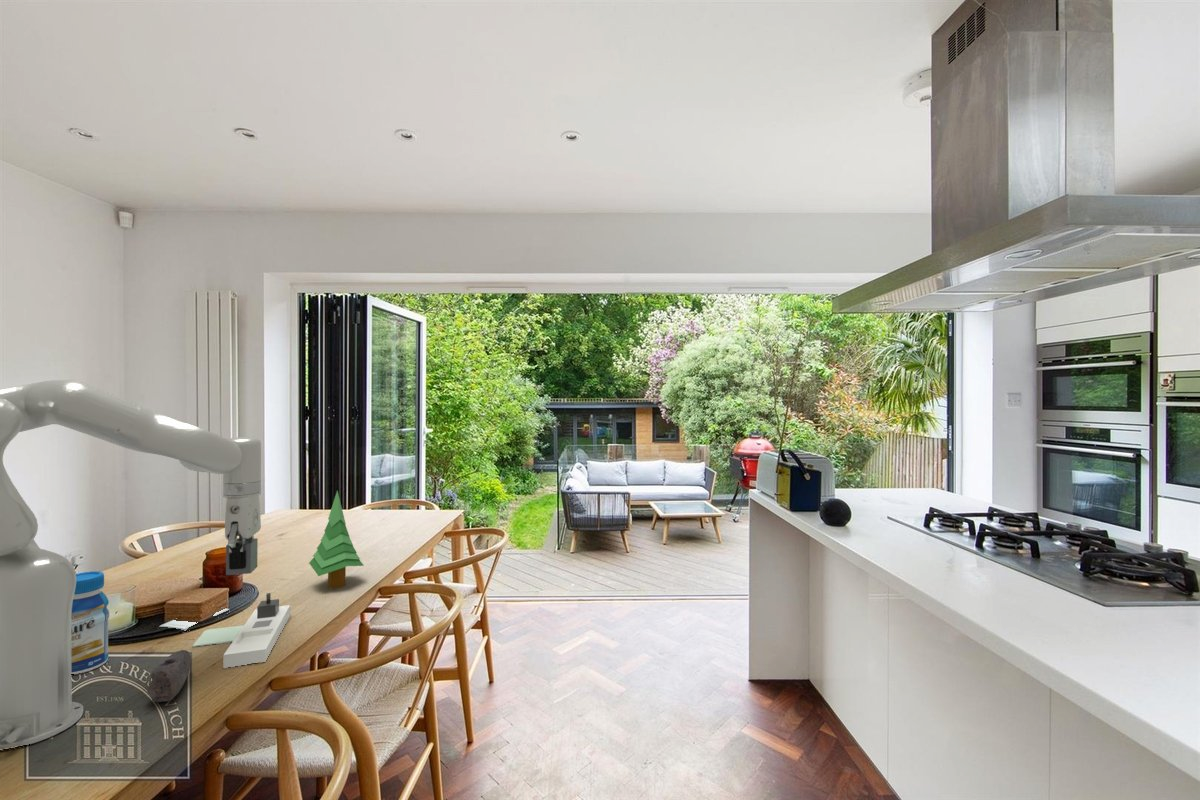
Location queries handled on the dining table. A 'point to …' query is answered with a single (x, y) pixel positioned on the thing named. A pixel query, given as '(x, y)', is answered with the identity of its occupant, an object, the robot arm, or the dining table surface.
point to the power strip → (258, 634)
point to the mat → (218, 636)
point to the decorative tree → (335, 549)
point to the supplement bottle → (89, 623)
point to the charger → (251, 558)
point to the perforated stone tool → (169, 676)
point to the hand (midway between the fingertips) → (241, 564)
